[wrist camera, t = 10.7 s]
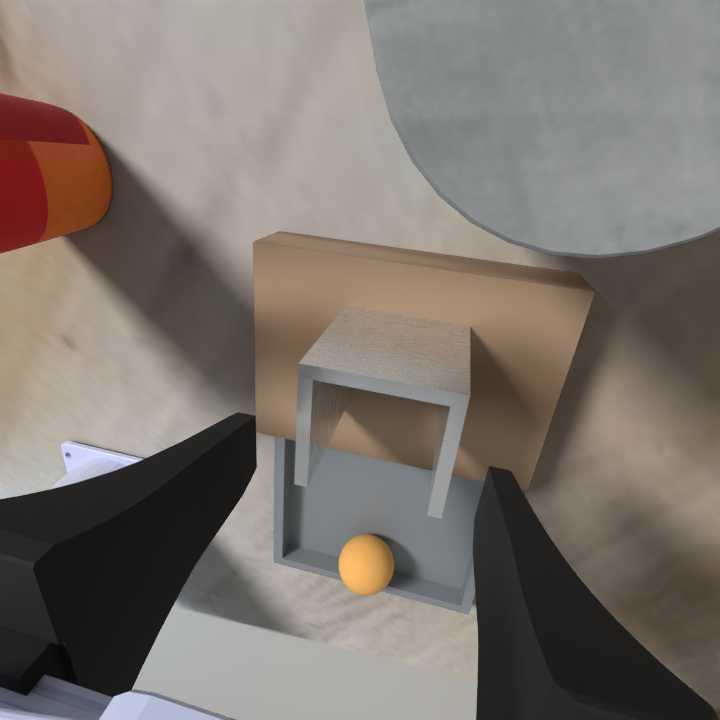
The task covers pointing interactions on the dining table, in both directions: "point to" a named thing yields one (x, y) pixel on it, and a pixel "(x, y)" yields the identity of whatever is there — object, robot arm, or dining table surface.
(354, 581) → the ball
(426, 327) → the grey arch
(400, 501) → the tray
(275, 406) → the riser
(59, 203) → the coffee cup
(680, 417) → the dining table surface
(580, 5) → the hip flask
